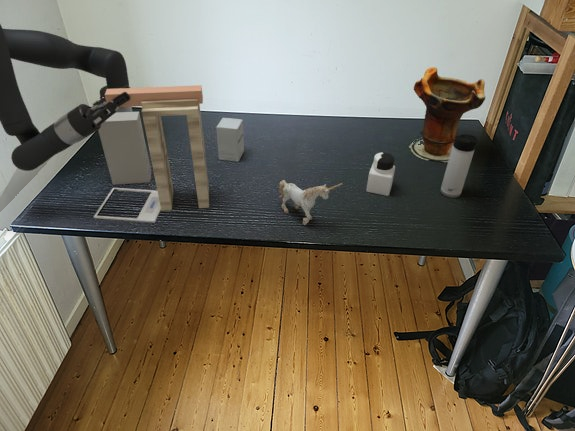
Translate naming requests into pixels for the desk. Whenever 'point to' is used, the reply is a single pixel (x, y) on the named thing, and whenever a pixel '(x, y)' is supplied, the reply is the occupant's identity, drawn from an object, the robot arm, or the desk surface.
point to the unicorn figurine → (302, 197)
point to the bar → (156, 94)
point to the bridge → (159, 152)
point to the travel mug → (458, 165)
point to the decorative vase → (443, 112)
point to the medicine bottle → (381, 174)
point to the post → (125, 148)
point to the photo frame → (147, 212)
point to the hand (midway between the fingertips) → (128, 91)
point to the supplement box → (230, 139)
